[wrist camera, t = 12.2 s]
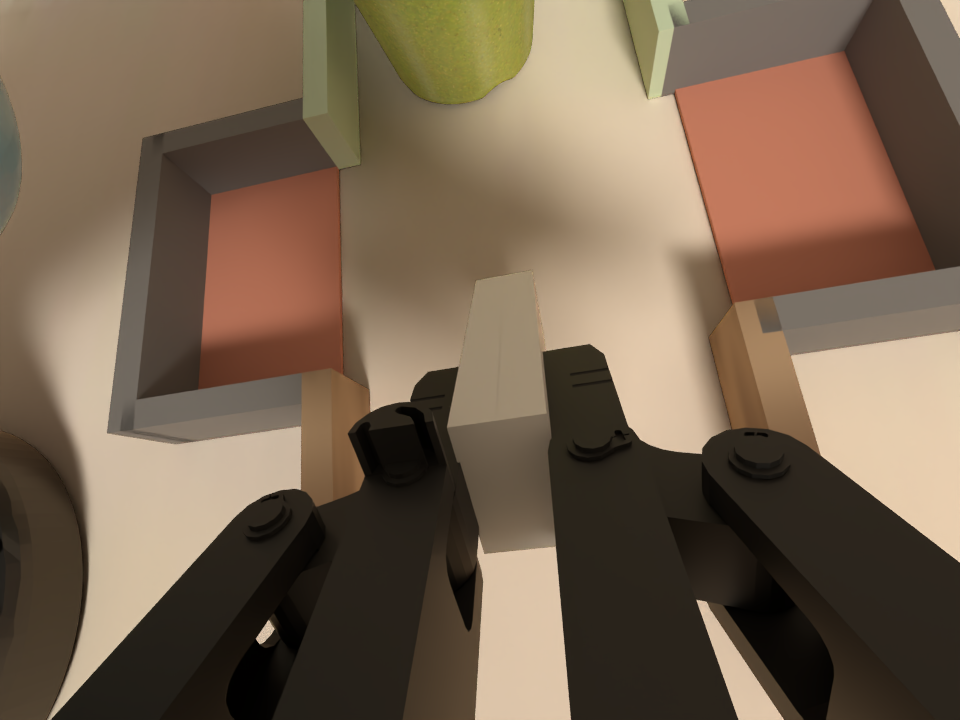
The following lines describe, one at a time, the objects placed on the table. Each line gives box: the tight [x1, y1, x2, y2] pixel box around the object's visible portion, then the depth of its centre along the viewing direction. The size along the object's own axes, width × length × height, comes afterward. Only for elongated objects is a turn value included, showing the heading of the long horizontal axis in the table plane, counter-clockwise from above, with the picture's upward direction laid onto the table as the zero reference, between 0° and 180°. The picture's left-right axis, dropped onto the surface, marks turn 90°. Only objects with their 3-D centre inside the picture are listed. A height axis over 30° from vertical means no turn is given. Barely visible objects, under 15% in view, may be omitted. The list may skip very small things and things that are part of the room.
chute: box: [301, 297, 821, 507], centre depth 15 cm, size 10×14×3 cm
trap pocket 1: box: [661, 0, 960, 355], centre depth 16 cm, size 12×8×3 cm, turn 6°
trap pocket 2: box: [107, 98, 343, 444], centre depth 19 cm, size 12×8×3 cm, turn 6°
